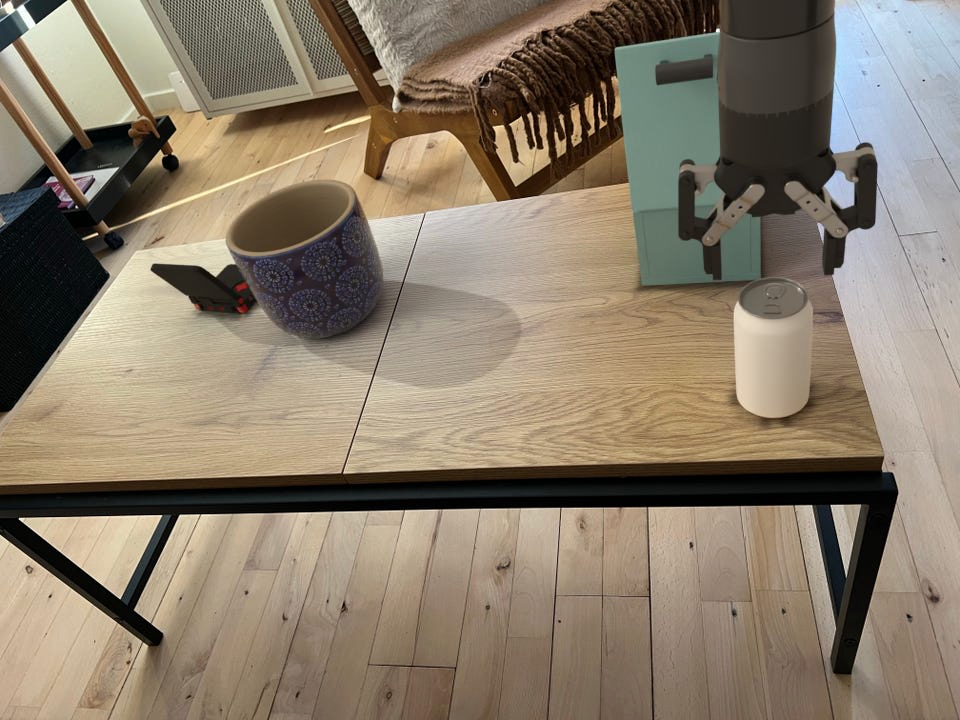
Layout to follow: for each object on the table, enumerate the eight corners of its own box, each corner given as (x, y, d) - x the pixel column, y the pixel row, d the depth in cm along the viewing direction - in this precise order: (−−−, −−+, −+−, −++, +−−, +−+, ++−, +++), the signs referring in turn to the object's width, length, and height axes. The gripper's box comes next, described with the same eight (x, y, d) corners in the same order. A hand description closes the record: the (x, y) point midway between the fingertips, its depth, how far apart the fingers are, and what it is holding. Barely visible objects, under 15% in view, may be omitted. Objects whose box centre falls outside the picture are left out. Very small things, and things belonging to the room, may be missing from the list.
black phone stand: (281, 274, 112) (251, 215, 106) (233, 329, 105) (198, 269, 98) (231, 271, 116) (200, 214, 110) (181, 324, 109) (145, 266, 102)
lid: (615, 47, 75) (609, 62, 71) (758, 25, 71) (760, 40, 67) (632, 207, 84) (627, 228, 80) (760, 197, 80) (761, 218, 76)
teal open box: (651, 210, 102) (643, 140, 95) (757, 201, 98) (756, 128, 91) (642, 286, 91) (632, 213, 84) (760, 279, 86) (760, 202, 80)
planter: (418, 280, 103) (382, 180, 93) (348, 363, 93) (300, 262, 83) (323, 267, 111) (282, 175, 101) (250, 343, 101) (196, 249, 92)
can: (810, 374, 75) (815, 273, 67) (807, 424, 70) (812, 322, 63) (739, 370, 77) (736, 273, 69) (732, 418, 73) (728, 320, 65)
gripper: (666, 121, 53) (681, 304, 64) (898, 95, 49) (873, 296, 59) (671, 74, 59) (684, 250, 69) (881, 46, 54) (861, 240, 65)
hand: (771, 272), depth 64 cm, fingers open, 8 cm apart
